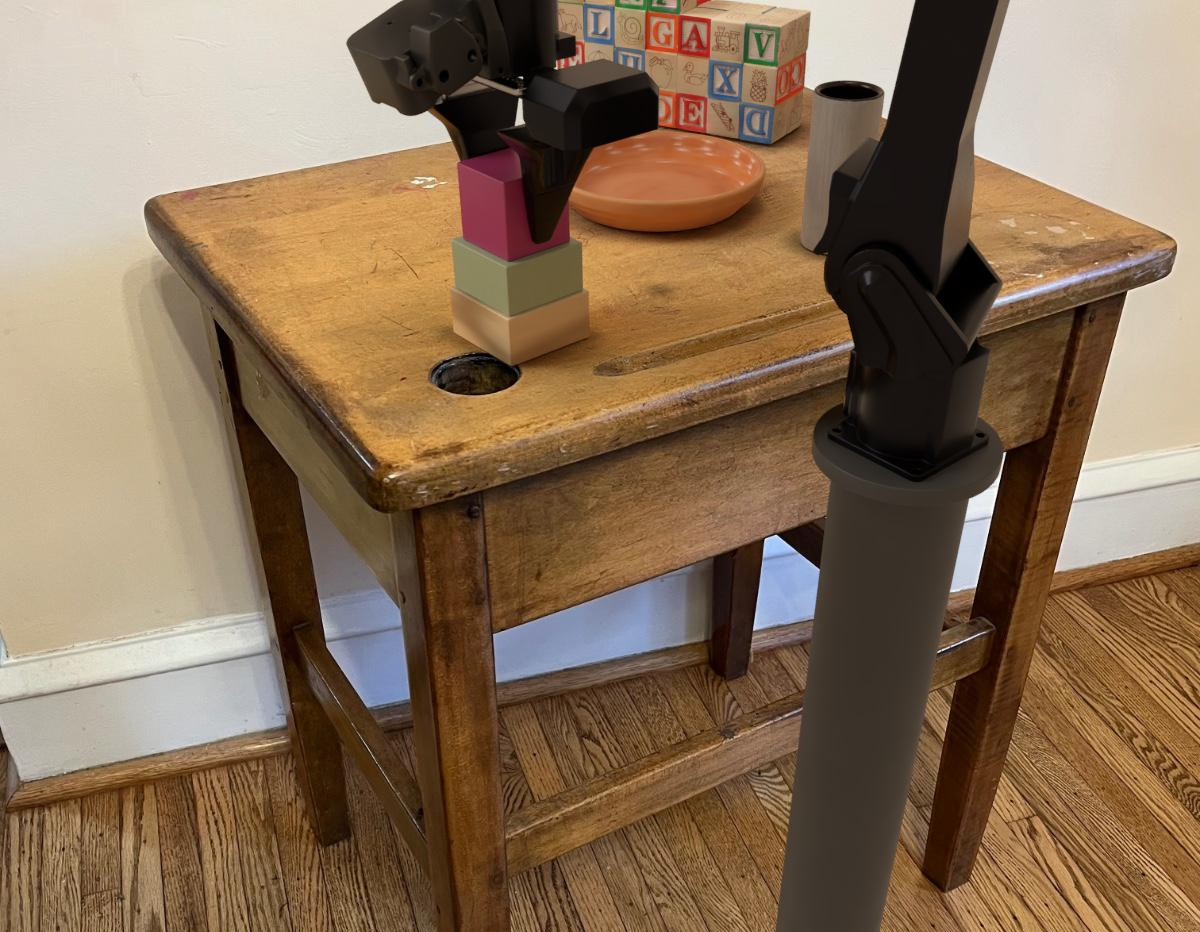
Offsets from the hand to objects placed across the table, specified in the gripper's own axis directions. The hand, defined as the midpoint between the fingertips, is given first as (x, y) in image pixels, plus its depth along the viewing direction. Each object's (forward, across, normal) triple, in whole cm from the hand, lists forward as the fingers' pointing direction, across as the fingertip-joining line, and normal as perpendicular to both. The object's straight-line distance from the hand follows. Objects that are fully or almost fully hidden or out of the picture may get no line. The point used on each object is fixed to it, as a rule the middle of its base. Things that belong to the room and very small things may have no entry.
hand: (515, 229), depth 72 cm
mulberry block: (+1, 0, 0) cm, 1 cm away
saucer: (+7, -11, +21) cm, 25 cm away
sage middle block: (+4, 0, 0) cm, 4 cm away
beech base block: (+7, 0, 0) cm, 7 cm away
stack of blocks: (+7, -25, +36) cm, 44 cm away
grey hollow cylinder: (+7, +3, +25) cm, 26 cm away
